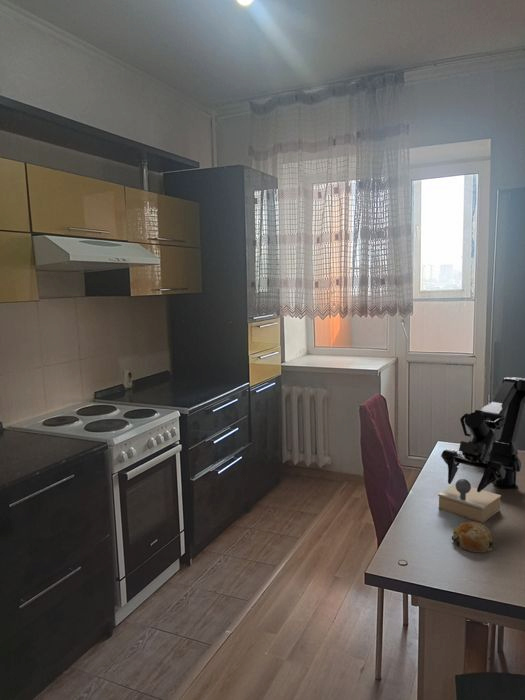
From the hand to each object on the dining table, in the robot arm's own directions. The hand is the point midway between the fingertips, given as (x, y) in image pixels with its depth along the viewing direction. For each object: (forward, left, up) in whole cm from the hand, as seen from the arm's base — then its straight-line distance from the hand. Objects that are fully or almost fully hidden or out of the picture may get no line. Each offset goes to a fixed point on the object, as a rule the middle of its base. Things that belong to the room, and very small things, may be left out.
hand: (463, 487), depth 158 cm
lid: (-3, -3, -4) cm, 6 cm away
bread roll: (+5, +18, -9) cm, 21 cm away
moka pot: (-28, -47, -9) cm, 56 cm away
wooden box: (-3, -3, -9) cm, 10 cm away
